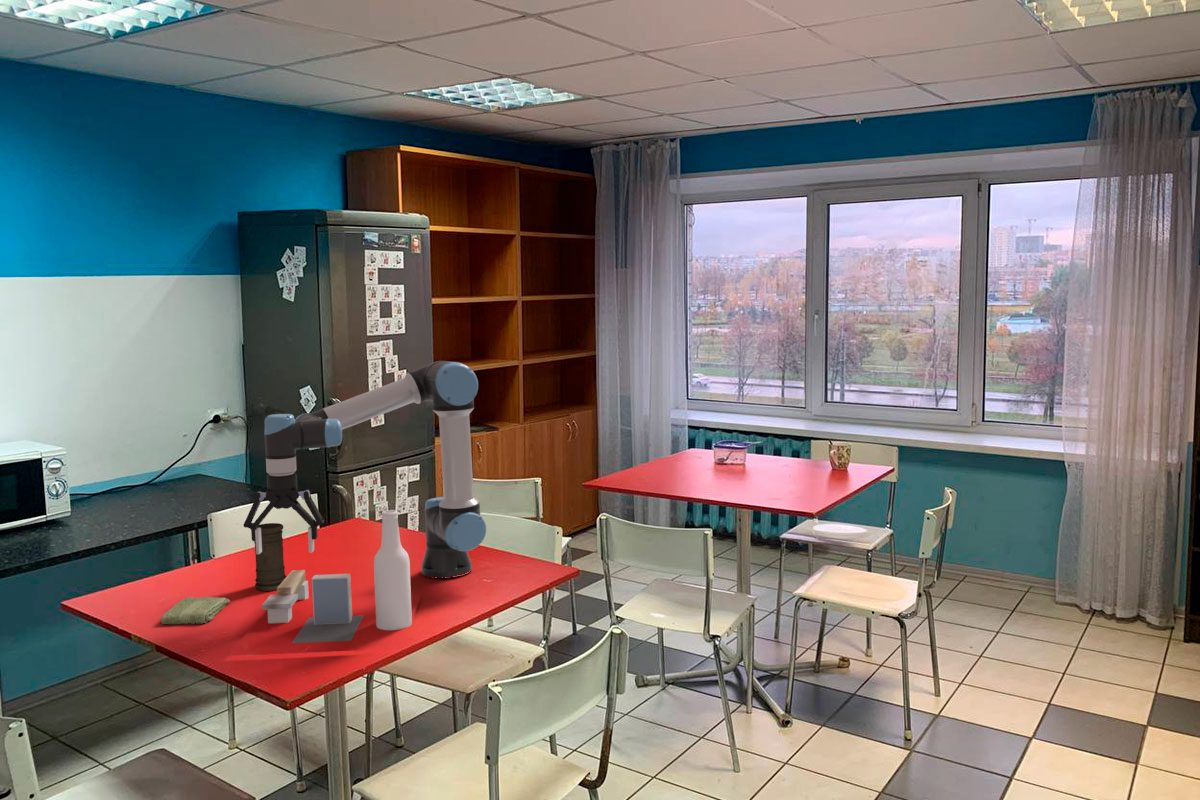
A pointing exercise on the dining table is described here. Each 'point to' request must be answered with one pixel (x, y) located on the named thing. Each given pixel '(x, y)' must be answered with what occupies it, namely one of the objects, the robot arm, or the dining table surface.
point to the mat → (327, 631)
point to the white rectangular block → (332, 599)
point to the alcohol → (392, 578)
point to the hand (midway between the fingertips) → (285, 552)
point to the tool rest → (286, 614)
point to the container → (270, 558)
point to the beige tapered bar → (286, 591)
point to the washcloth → (194, 610)
